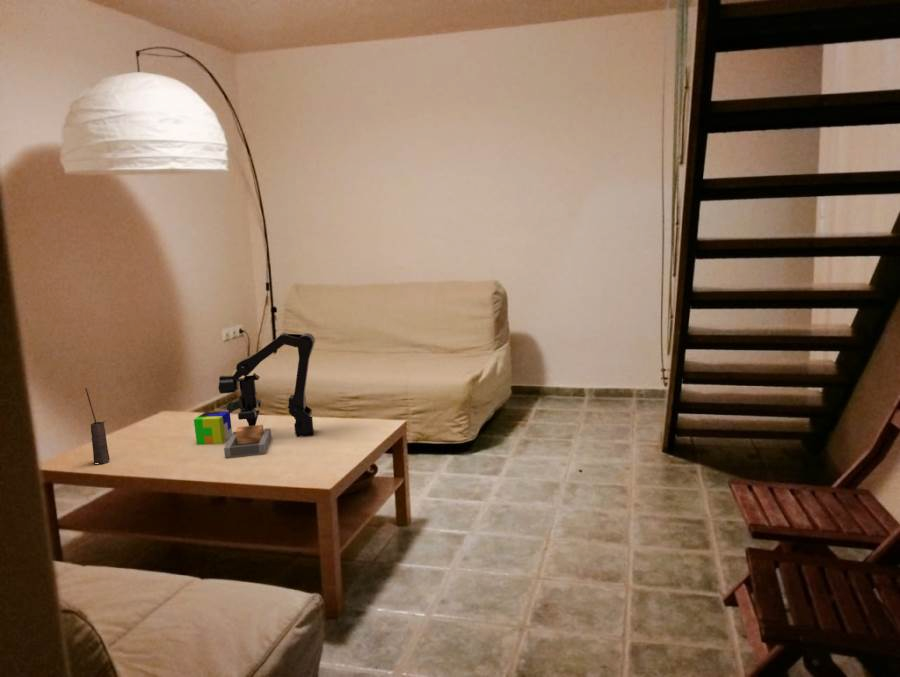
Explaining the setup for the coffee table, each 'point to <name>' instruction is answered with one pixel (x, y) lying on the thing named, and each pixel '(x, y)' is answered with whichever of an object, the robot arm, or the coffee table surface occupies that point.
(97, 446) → the butter churn
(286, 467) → the coffee table surface
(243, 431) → the orange block
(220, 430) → the puzzle toy
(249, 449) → the chute
